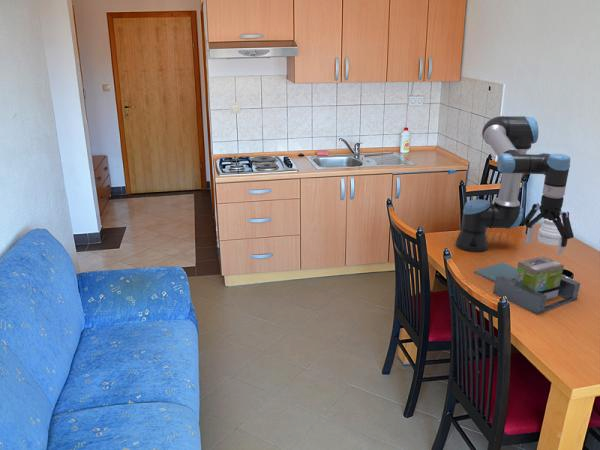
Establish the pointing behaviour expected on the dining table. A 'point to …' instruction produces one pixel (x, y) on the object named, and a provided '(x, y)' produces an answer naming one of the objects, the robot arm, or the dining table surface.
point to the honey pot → (549, 233)
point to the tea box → (540, 275)
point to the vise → (535, 294)
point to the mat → (498, 271)
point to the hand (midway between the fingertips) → (543, 248)
